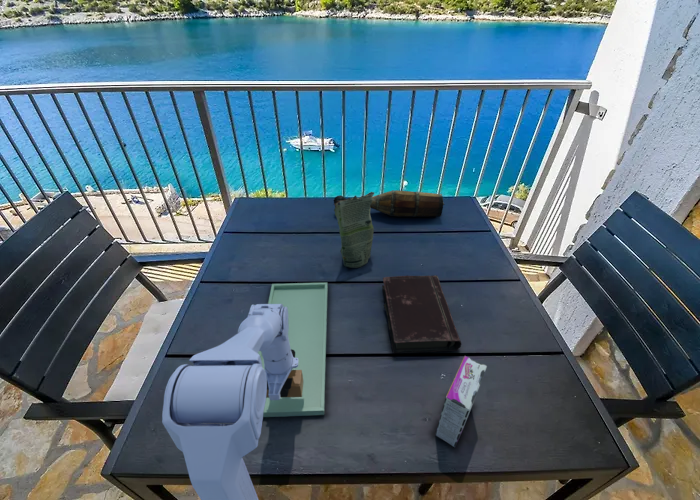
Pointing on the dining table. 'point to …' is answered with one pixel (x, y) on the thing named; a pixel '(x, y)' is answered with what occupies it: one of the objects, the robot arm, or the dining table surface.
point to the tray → (303, 346)
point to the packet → (294, 384)
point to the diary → (418, 315)
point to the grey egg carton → (460, 400)
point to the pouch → (355, 229)
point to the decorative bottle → (405, 203)
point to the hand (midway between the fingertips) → (284, 385)
